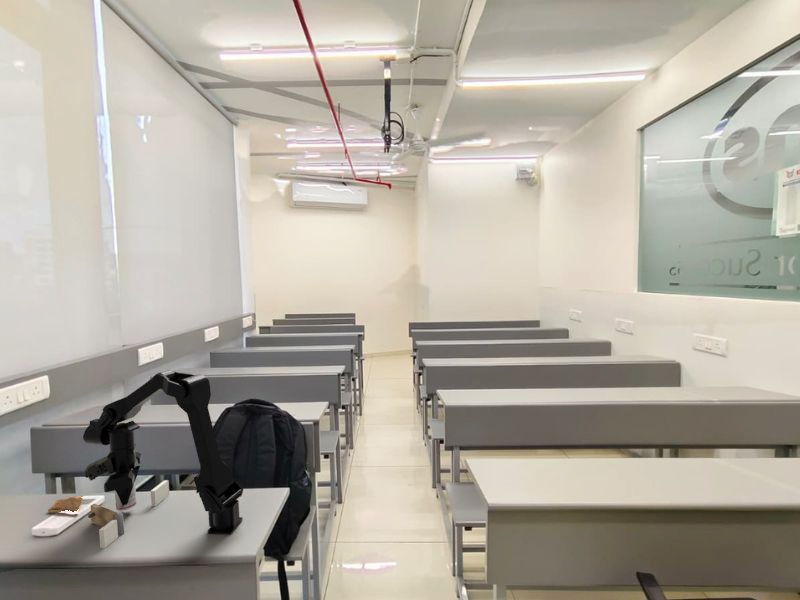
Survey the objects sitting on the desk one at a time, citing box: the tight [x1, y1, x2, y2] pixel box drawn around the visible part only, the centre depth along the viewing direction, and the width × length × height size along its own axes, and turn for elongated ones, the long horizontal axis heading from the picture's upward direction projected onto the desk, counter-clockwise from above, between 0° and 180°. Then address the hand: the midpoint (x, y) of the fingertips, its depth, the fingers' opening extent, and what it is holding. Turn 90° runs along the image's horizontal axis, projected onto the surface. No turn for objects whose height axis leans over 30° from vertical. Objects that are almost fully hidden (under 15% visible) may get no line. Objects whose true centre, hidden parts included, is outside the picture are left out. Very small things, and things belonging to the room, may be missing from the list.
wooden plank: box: [87, 503, 118, 528], centre depth 108 cm, size 10×2×5 cm, turn 63°
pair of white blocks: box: [98, 479, 170, 549], centre depth 112 cm, size 2×24×5 cm, turn 175°
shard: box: [47, 495, 84, 514], centre depth 118 cm, size 11×8×2 cm
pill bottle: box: [114, 482, 138, 511], centre depth 115 cm, size 5×5×8 cm
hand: (126, 500), depth 116 cm, fingers closed on pill bottle, 5 cm apart
